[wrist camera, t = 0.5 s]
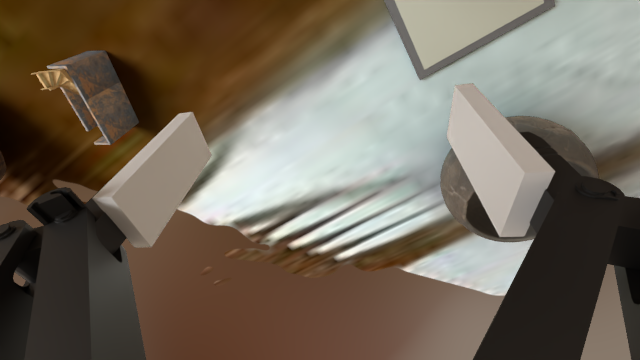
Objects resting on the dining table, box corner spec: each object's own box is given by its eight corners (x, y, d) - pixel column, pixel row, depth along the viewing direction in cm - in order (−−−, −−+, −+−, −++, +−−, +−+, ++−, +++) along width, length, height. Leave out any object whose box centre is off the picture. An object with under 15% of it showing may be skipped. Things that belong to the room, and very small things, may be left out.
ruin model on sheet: (88, 50, 41) (28, 71, 34) (107, 49, 41) (52, 71, 33) (124, 121, 48) (81, 151, 41) (140, 121, 48) (101, 152, 40)
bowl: (439, 102, 41) (467, 148, 31) (576, 94, 39) (653, 141, 29) (424, 194, 52) (442, 250, 42) (531, 192, 50) (575, 250, 40)
